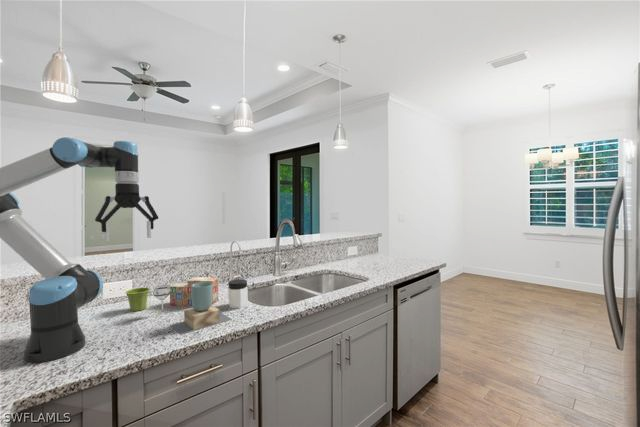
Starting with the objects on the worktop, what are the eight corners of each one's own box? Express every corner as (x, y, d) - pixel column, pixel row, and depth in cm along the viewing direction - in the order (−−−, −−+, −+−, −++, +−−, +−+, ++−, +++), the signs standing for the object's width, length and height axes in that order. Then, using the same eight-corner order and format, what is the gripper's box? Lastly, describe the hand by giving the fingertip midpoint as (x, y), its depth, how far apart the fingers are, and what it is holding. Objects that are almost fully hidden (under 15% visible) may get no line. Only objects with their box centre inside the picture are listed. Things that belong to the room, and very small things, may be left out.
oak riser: (193, 329, 112) (193, 316, 111) (184, 322, 119) (184, 309, 119) (219, 322, 118) (219, 309, 118) (209, 315, 126) (208, 303, 126)
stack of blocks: (169, 305, 141) (168, 280, 141) (177, 301, 148) (176, 276, 147) (213, 306, 139) (212, 280, 139) (218, 302, 146) (218, 277, 145)
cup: (206, 304, 124) (206, 280, 124) (216, 309, 119) (216, 284, 119) (188, 310, 118) (187, 285, 118) (197, 314, 113) (197, 288, 113)
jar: (249, 308, 136) (249, 282, 136) (231, 311, 132) (231, 285, 132) (244, 302, 144) (244, 278, 144) (227, 305, 140) (226, 280, 140)
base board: (180, 337, 108) (180, 334, 107) (170, 327, 116) (170, 325, 116) (232, 321, 121) (232, 319, 121) (219, 313, 130) (219, 311, 130)
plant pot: (121, 311, 134) (120, 292, 133) (139, 304, 143) (138, 286, 142) (137, 313, 131) (136, 294, 131) (154, 306, 140) (154, 288, 140)
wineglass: (171, 310, 134) (171, 284, 134) (170, 315, 128) (169, 288, 128) (154, 312, 132) (153, 286, 131) (152, 318, 126) (151, 290, 125)
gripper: (86, 181, 102) (89, 243, 103) (165, 184, 119) (167, 237, 120) (84, 182, 107) (86, 241, 108) (160, 184, 124) (161, 235, 125)
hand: (129, 239), depth 114 cm, fingers open, 13 cm apart
